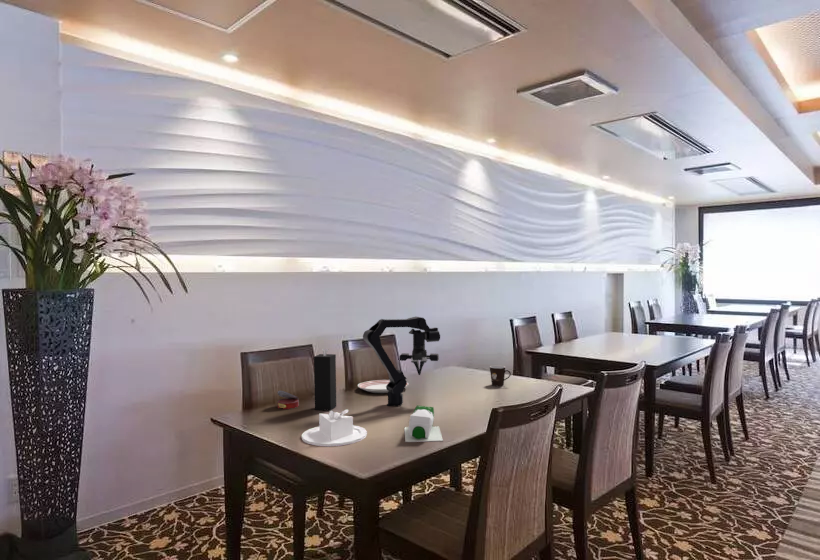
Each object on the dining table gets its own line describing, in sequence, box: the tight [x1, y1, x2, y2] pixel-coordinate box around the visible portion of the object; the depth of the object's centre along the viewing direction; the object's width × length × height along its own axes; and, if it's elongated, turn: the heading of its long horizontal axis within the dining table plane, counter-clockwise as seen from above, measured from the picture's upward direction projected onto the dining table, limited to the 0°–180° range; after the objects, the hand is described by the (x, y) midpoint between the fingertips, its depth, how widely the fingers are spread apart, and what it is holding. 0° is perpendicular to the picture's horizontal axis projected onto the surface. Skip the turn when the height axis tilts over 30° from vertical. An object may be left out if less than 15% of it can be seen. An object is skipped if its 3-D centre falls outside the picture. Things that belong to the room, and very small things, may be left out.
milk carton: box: [408, 404, 435, 439], centre depth 208 cm, size 9×9×20 cm
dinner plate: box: [357, 379, 409, 394], centre depth 287 cm, size 28×27×3 cm
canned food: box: [277, 390, 300, 410], centre depth 253 cm, size 11×10×10 cm
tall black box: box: [313, 347, 337, 411], centre depth 248 cm, size 8×8×28 cm
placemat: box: [403, 425, 444, 443], centre depth 207 cm, size 18×14×1 cm
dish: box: [301, 408, 368, 447], centre depth 206 cm, size 25×25×11 cm
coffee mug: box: [489, 365, 512, 387], centre depth 293 cm, size 12×9×10 cm
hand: (419, 374), depth 259 cm, fingers closed
